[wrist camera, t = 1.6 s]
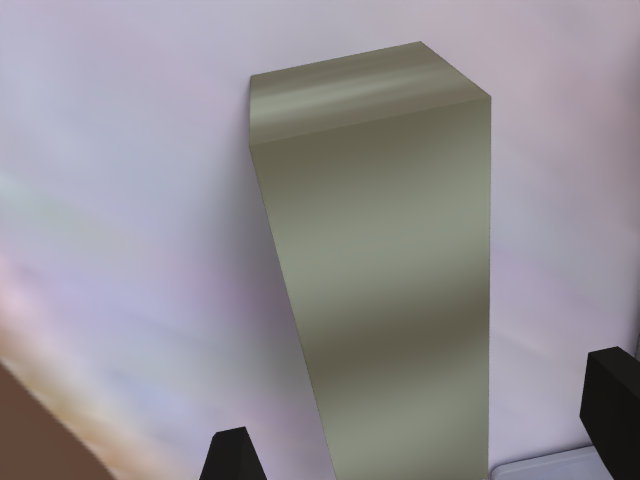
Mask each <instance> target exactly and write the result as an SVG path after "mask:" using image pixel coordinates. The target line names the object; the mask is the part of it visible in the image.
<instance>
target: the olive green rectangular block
mask: <svg viewBox="0 0 640 480" xmlns="http://www.w3.org/2000/svg"><path fill="white" fill-rule="evenodd" d="M249 148H250V152H251V155H252V159H253V163H254V167H255V171H256V174H257V178H258V182H259V186H260V190H261V194H262V197H263V201H264V205H265V209H266V213H267V216H268V220H269V224H270V228H271V232H272V235H273V239H274V243H275V247H276V251H277V254H278V258H279V262H280V266H281V270H282V274H283V277H284V281H285V285H286V289H287V293H288V296H289V300H290V304H291V308H292V312H293V315H294V319H295V323H296V327H297V331H298V334H299V338H300V342H301V346H302V350H303V354H304V357H305V361H306V365H307V369H308V373H309V376H310V380H311V384H312V388H313V392H314V395H315V399H316V403H317V407H318V411H319V414H320V418H321V422H322V426H323V430H324V434H325V437H326V441H327V445H328V449H329V453H330V456H331V460H332V464H333V468H334V472H335V475H336V479H337V480H482V479H487V478H488V429H489V307H490V184H491V96H490V95H489V94H487V93H486V92H485V91H484V90H482V89H481V88H480V87H479V86H477V85H476V84H475V83H473V82H472V81H471V80H470V79H468V78H467V77H466V76H464V75H463V74H462V73H461V72H459V71H458V70H457V69H456V68H454V67H453V66H452V65H450V64H449V63H448V62H447V61H445V60H444V59H443V58H442V57H440V56H439V55H438V54H436V53H435V52H434V51H433V50H431V49H430V48H429V47H427V46H426V45H425V44H424V43H422V42H421V41H419V42H414V43H409V44H404V45H399V46H394V47H389V48H384V49H379V50H375V51H370V52H365V53H360V54H355V55H350V56H345V57H340V58H335V59H331V60H326V61H321V62H316V63H311V64H306V65H301V66H296V67H291V68H287V69H282V70H277V71H272V72H267V73H262V74H257V75H252V76H251V81H250V123H249Z"/></svg>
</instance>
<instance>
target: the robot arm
mask: <svg viewBox="0 0 640 480" xmlns="http://www.w3.org/2000/svg"><path fill="white" fill-rule="evenodd" d="M580 419H581V421H582V423H583V425H584V427H585V429H586V431H587V433H588V435H589V437H590V439H591V441H592V443H593V445H594V446H589V447H584V448H580V449H575V450H570V451H566V452H561V453H556V454H551V455H547V456H542V457H537V458H532V459H528V460H523V461H518V462H514V463H509V464H504V465H500V466H498V467H496V468H495V469H494V470H493V471H492V480H640V362H639V361H638V360H637V359H635V358H634V357H632V356H631V355H629V354H628V353H627V352H625V351H624V350H622V349H621V348H619V347H618V346H617V347H612V348H607V349H603V350H598V351H593V352H589V353H588V359H587V366H586V373H585V381H584V388H583V395H582V402H581V409H580ZM199 480H267V478H266V476H265V473H264V471H263V468H262V466H261V463H260V461H259V459H258V456H257V454H256V451H255V449H254V446H253V444H252V442H251V439H250V437H249V434H248V432H247V429H246V427H245V426H244V427H239V428H235V429H230V430H225V431H221V432H216V434H215V435H214V436H213V438H212V441H211V444H210V448H209V451H208V454H207V458H206V461H205V464H204V467H203V470H202V473H201V476H200V479H199Z"/></svg>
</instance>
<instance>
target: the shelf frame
mask: <svg viewBox="0 0 640 480" xmlns="http://www.w3.org/2000/svg"><path fill="white" fill-rule="evenodd" d="M635 359H637V360H638V361H639V362H640V336H639V341H638V346H637V351H636V355H635Z"/></svg>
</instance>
